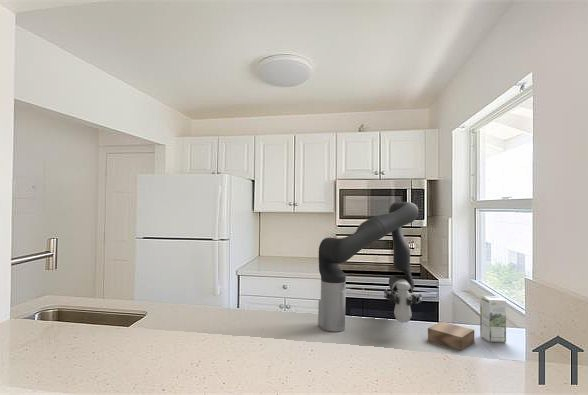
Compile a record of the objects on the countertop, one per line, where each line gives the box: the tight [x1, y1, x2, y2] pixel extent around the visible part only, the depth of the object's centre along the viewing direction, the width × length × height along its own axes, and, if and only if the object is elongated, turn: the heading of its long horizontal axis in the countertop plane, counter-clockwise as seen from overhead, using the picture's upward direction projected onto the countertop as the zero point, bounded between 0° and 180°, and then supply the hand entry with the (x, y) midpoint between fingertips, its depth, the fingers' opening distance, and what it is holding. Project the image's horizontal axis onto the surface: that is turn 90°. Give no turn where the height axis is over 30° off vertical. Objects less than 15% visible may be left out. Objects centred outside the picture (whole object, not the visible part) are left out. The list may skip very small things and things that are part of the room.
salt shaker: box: [393, 282, 412, 323], centre depth 111 cm, size 6×6×13 cm
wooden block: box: [427, 321, 475, 351], centre depth 109 cm, size 11×11×4 cm
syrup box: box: [479, 295, 507, 343], centre depth 111 cm, size 6×6×14 cm
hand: (403, 301), depth 109 cm, fingers closed on salt shaker, 3 cm apart
